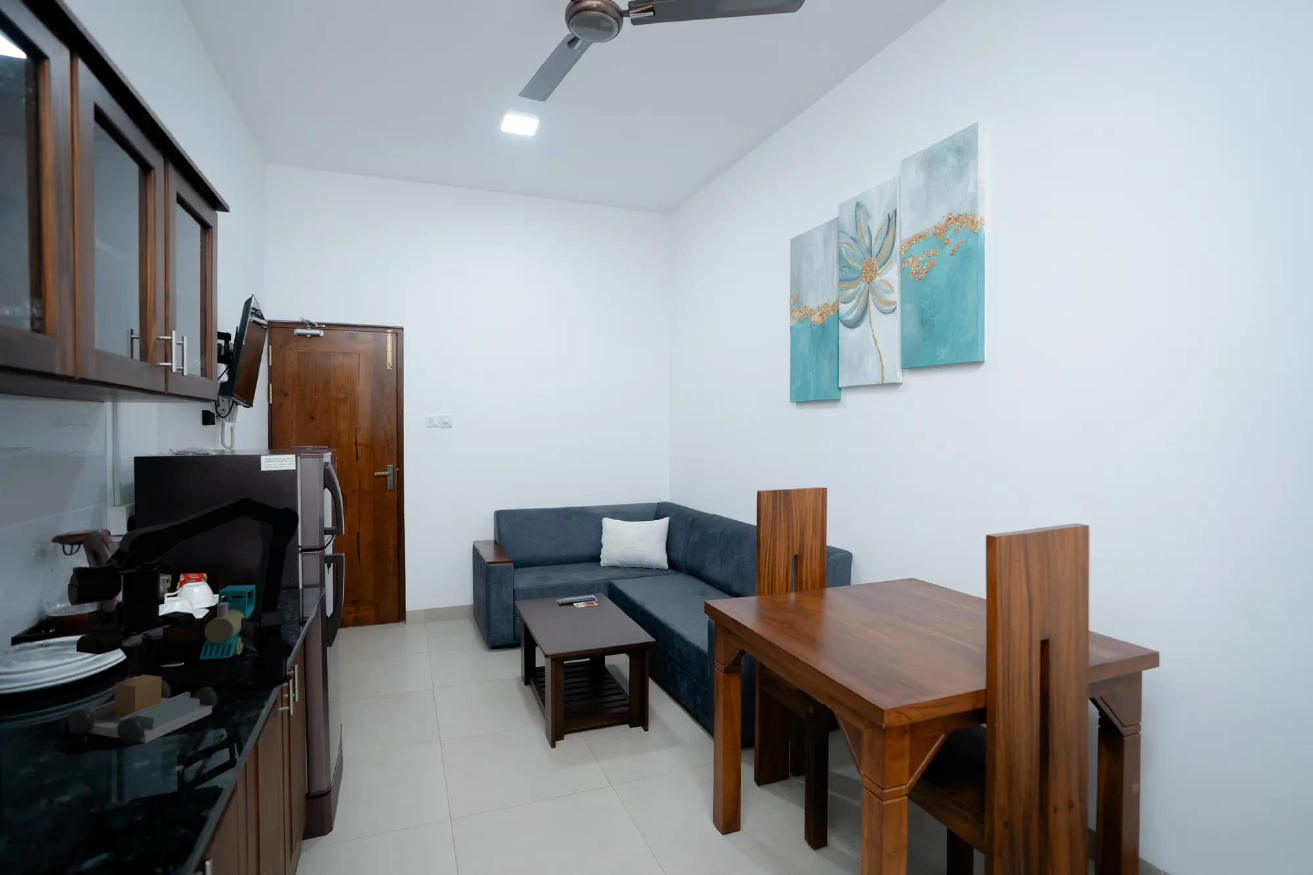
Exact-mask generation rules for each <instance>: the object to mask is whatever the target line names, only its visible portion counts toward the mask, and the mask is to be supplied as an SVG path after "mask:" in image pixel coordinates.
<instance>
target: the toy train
mask: <svg viewBox="0 0 1313 875" xmlns="http://www.w3.org/2000/svg"><path fill="white" fill-rule="evenodd" d="M249 592H251V596H250V597H248V593H249ZM236 596H237V597H239V596H243V597H242V598H232V597H236ZM223 597H226V601H223ZM255 597H256V584H251V585H250V584H247V585H246V584H242V585H227V586H226V587H224V588H222V589H220V590H219V591H218V597H217V598H218V599H217V600H218V601H217V603H216V606H217V613H216V614H217V616H215V617H214V618H213V619H211V620H210V621H209V622H208V623H206V625H205V627H204V636H205V638H206V639H207V640H206V641H205V642H204V643H203V645H202V650H201V653H200V656H199V660H210V659H212V660H213V659H229V658H231V657H232V656H234V655H236V656H239V655H241V654H240V653H242V651H243V650H244V648H243V647H245V646H244V645H243V644H242V642H241V637H239V636H238V634H239V632H240V630H241V619H242V618H248V617H249V616H250V614H251V613H252V611H253V609H254V603H255ZM238 654H239V655H238Z"/></svg>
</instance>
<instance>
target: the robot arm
mask: <svg viewBox="0 0 1313 875" xmlns="http://www.w3.org/2000/svg"><path fill="white" fill-rule="evenodd" d="M242 517H244V518H247V519H248V520H249V519H250V520H252V521H255V522H257V523H258V533H259V536H260V539H261V540H260V541H261V544H262V550H261V557H260V566H259V572H258V577H257V585H256V589H255V603H254V609H253V611H252V613H251V614H250V616H249V617H248V618H242V619H241V630H240V632H239V634H238V636H239V637H241V642H242V644H243V645H244V646H243V647H245V648H247V649H248V650H249V653H250V654H251V655H254V656H255V658H253V659H252V661H253V662H252V666H251V681H248V682H247V683H246V686H247V687H253V688H260V689H267V690H269V689H270V690H272V689H273V688H275V687H278V686H280V685H282V684H284V683H286V682H288V681H291V680H292V679H293V676H291V675H287V673H288V658H289V657H291V655H292V653H293V650H294V646H292V645H291V644H290V643H288V642H287V641H285V639H283V628H282V626H283V625H282V622H281V618H280V614H279V603H280V596H281V590H282V583H283V577H284V571H285V569H284V568H285V563H286V554H287V549H288V546H289V544H291V541H292V540H293V538H294V537H295V535H296V532H297V529H298V526H299V522H300V517H299V513H297V511H295V509H294V508H291V507H285V506H281V505H269V504H265V503H263V502H259V501H256V500H254V499H252V498H250V497H249V496H248V497H247V496H239V495H238V496H234V497H231V499H229V500H227V501H223V502H222V503H219V504H216V505H214V506H211V507H208V508H206V509H203V510H201V511H199V512H196V513H192V514H191V515H188V516H185V517H183V518H180V519H178V520H175V521H172V522H168V523H167V522H166V523H160V524H155V525H150V526H145V527H141V528H137V529H136V528H135V529H133V530H130V531H128V532H126V533H125V534H124V535H123V536H122V538H121V539H120V541H119V546H118V547H117V549H116V550H115V552H113V553H112V555H111V556H110V557H109V558H108V559H107V560H106V562H104V564H102V565H92V566H76V567H73V568H72V575H71V576H70V579H69V583H68V584H67V596H68V601H69V603H70V606H73V607H74V606H80V605H87V604H91V603H100V602H106V601H107V602H108V601H112V600H114V598H115V597H117V596H119V594H120V593H121V601H116V604H115V606H114V607H115V609H114V610H111V611H107V610H106V609H105V608H102V609H96V610H92V611H90V612H88V616H87V623H88V624H87V625H88V627H89V628H90V629H97V628H98V629H99V631H95V632H91V633H87V634H84V635H80V637H79V638H78V639H77V640H76V647H75V648H76V651H75V652H77V653H83V654H90V655H95V656H96V655H105V654H107V653H112V652H114V651H119V650H121V652H122V653H123V655H124V656H125V657H126V659H127V662H128V663H129V666H130V669H131V671H132V672H133V674H134V677H136V676H142V675H145V673H146V671H147V668H148V667H149V665H150V664H151V662H152V660H153V658H154V657H155V656H156V654H157V652H158V650H159V649H160V647H162V644H163V643H164V641H166V640H168V639H169V635H166V634H164V630H166V629H167V630H168V629H170V628H174V627H176V626H177V628H178V629H179V630H180V631H185V630H188V629H189V630H190V629H191V628H196V623H197V622H196V620H197V617H196V616H195V615H194V614H193V612H187V611H177V610H175V611H174V610H173V611H170V612H167V613H163V614H160V606H161V605H164V604H165V601H166V600H165V598H162V597H160V596H161V592H160V591H161V588H160V587H161V572H162V571H168V570H169V571H170V570H173V569H174V568H175V567H174V565H173V564H170V563H169V562H168V561H167V560H166V559H165V558H164V557H163V556H164V555H166V554H168V553H169V552H171V551H173V549H175V548H176V547H178V546H179V545H181V543H183V542H185V541H186V540H188V539H190V538H193V537H195V536H199V535H200V534H203V533H206V532H208V531H210V530H213V529H216V528H217V527H220V526H222V525H225V524H227V523H229V522H233V521H234V520H237V519H240V518H242ZM110 629H111V630H116V631H117V630H118V631H117V632H114V631H108V630H110ZM119 630H120V631H119Z"/></svg>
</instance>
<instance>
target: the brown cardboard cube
mask: <svg viewBox="0 0 1313 875" xmlns="http://www.w3.org/2000/svg"><path fill="white" fill-rule="evenodd" d="M161 683H162V676H157V675H148V674H143V675H142V676H133V677H130V678H128V679H127V678H126V679H123V680H122V681H118V682H116V683H114V700H115V708H114V715H118V716H127V715H129V714H132V713H134V712H137V711H139V710H142V709H144V708H147V707H149V706H152V705H154V704H157V703H160V702H161Z"/></svg>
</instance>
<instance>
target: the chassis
mask: <svg viewBox="0 0 1313 875" xmlns="http://www.w3.org/2000/svg"><path fill="white" fill-rule="evenodd" d="M170 696H171V687H170V685H169V683H168V682H167V681H165V680H162V683H161V702H160V703H157V704H154V705H152V706H149V707H147V708H144V709H142V710H139V711H137V712H134V713H132V714H129V715H127V716H118V715H114V708H115V699H114V700H111V701H109V702H107V703H106V702H105V703H104V704H103V703H102V704H101V705H98V706H96V707H93V708H90V709H88V708H85V707H83V708H80V709H77V710H75V711H72V712H71V713H70V714H69V715H68V717H67V727H68V729H69V732H70V733H71V734H72V735H74V736H81V735H84V734H86V733H87V734H95V735H98V736H99V735H100V736H103V737H104V736H105V737H110V738H118V739H119V740H120V742H121V743H122V744H124V745H125V746H126V745H132V744H134V743H137V742H138V743H143V744H147V743H149V742H151V741H153V740H155V739H158V738H159V737H162V736H164V735H167V734H169V733H171V732H173V731H175V730H177V729H180V728H182V727H184V726H187V725H189V724H190V723H193V722H195V721H197V720H200V719H203V718H204V717H206V716H209V715H211V714H212V711H213V708H214V707H216V705H217V702H218V695H217V692H216V691H215V690H214V689H213V688H212V687H209V686H207V687H203V688H200V689H198V690H196V691H195V693H194V695H193V697H191V691H185V692H183V693H182V692H181V693H180V694H178V695H176V696H173V697H170Z"/></svg>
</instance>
